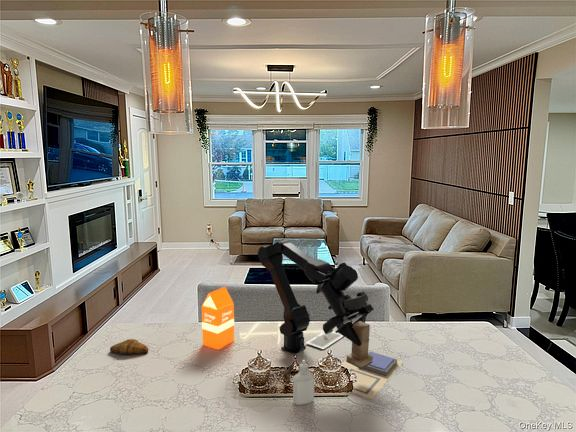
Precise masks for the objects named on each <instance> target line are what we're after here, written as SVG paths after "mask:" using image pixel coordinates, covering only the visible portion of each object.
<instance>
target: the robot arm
mask: <svg viewBox="0 0 576 432" xmlns="http://www.w3.org/2000/svg"><path fill="white" fill-rule="evenodd" d="M257 257H258V259H259V262H260V264H261V265H262V267H264V268H265V269H267V271H268V272H269V273H270V277H271V279H272V281H273V284H274V286H275V289H276V291H277V294H278V295H279V298H280V301H281V303H282V305H283V316H282V317H283V321H284V322H283V323H282V324H281V325H280V326H279V332H280V334H281V335H282V336H283V346H281V350H282V351H285V352H288V353H291V354H295V355H297V354H298V353H300V352H301V351H302V350H305V349H306V348H307V347H306V345H305V336H304V332H305V331H307V330H308V327H309V325H310V322H311V318H310V314H309V312H308V309H307V306H306V305H305V304H303V305H301V304H299V302H298V301H297V298H296V296H295V294H294V290H293V289H292V287H291V284H290V282H289V280H288V277H287V274H286V272H285V269H284V267H283V260H284V257H286V258H287V259H288V260H290V261H291V262H293V263H294V264H295V265H297V266H299V268H301V270H303V273H304V275H305V276H306V277H307V278H308V279H309V280H310V281H311V282H312V283H314V284H316V283H320V282H323V283H320V284H317V288H316V294H317V295H318V294H322V295H323V296H324V298H325V300H326V302H327V303H328V305H329V306H327V308H328V310H329V311H330V310H332V312H333V314H334V315H335V316H333V317H330V318H329V319H328V320H327V321H326V322H325V323H323V324H322V331H323V332H325V334H328V333H331V332H332V331H335V330H334V329H335V328H336V331H335V332H336V333H339V334H341V335H343V337H344V338H346V339H348V340H349V341H350V342H351V343H352V342H353V343H355V344H356V345H358V346H361V342H360V340H359V338H358V336H357V334H356V332H355V331H354V329H353V324H355V323H357V322H359V321H361V322H364V323H366V319H367V317H368V315H369V314H370V313H371V312H373V311H374V310H375V308H374V307H373V306H372V304H371V303H367V302H369V297H368V295H367V294H366V292H365V291H360V292H357V293H356V296H355V297H351V295H349V294H345V292H344V291H346V290H347V289H348V288H350V287H351V286H352V285H353V284H354V283H355V282H356V281H358V280H359V274H358V273H357V270H356V269H354V268H353V267H352V266H351V265H347V263H346V262H345V261H344V262H342V263H339V264H338V266H337V267H334V266H332V265H331V264H330V263H329V262H327V261H325V260H322V259H319V258H314V257H313V256H311V255H309V254H308V253H306V252H305V251H303V250H302V249H300V247H298V246H296V245H294V244H293V243H292V242H291V240H288V239H284V240H283V239H282V240H278V241H276V242H275V243H273V244H267V245H262V246H260V247H259V249H258V250H257Z"/></svg>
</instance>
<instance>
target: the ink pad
mask: <svg viewBox="0 0 576 432" xmlns="http://www.w3.org/2000/svg"><path fill="white" fill-rule="evenodd" d="M368 355H371V356H373V360H372V363H371V364H369V365H368V366H366V367H364V368H362V369H365V370H368V371H371V372H374V373H377V374H380V375H383V376H387V375H388V374H389V373H390V371H391V370H392V369H393V368H394V367H395V366H396V365H397V360H398V359H397V358H395V357H391V356H387V355H384V354H380V353H377V352H374V351H371V350H370V352H369V353H368Z"/></svg>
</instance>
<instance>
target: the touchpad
mask: <svg viewBox="0 0 576 432" xmlns="http://www.w3.org/2000/svg"><path fill="white" fill-rule="evenodd" d="M343 337H344V336H343V335H341V334H339V333H336V332H335V330H333V331H332V332H331V333H328V334H325V332H324V331H323V332H321V333H319V334H318V335H315V336H314V337H313V338H310V339H309V340H307V341H306V342H305V344H308V345H310V346H313V347H316V348H318V349H322V350H324V349H326V348H328V347H329V346H331V345H332V344H334V343H335V342H338V341H339V340H340V339H341V338H343Z"/></svg>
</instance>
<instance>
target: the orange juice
mask: <svg viewBox="0 0 576 432" xmlns="http://www.w3.org/2000/svg"><path fill="white" fill-rule="evenodd" d="M234 312H235V303H234V301H233V299H232V297H231V295H230V293H229V291H228V290H227V288H226V286H222V287H221V288H218V289H216V290H213V291H211V292H208V294H207V296H206V297H205V300H204V301H203V303H202V305H201V329H202V331H201V332H202V345H203V346H206V347H209V348H213V349H215V350H221V349H222V348H224V347H225V346H227V345H229V344H231V343H232V342H234V341H235V313H234Z"/></svg>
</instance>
